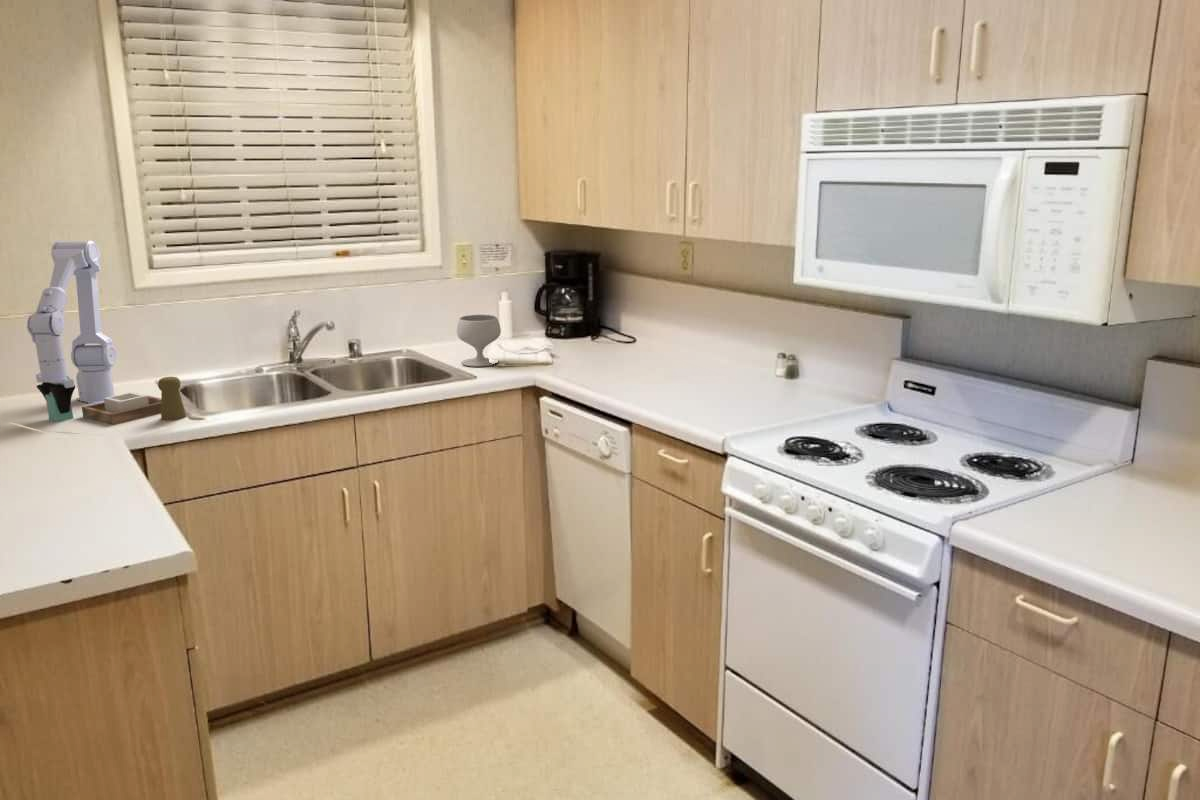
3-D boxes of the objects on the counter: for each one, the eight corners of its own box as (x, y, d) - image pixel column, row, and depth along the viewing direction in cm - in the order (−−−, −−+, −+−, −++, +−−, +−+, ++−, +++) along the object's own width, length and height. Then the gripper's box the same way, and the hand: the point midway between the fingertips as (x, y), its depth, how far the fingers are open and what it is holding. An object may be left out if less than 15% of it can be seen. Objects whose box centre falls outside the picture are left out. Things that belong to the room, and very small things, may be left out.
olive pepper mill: (191, 415, 240) (186, 374, 238) (178, 422, 235) (173, 380, 232) (169, 415, 241) (163, 374, 238) (156, 421, 235) (150, 380, 232)
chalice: (452, 361, 301) (450, 316, 297) (492, 357, 307) (490, 312, 303) (467, 370, 289) (465, 322, 285) (508, 365, 295) (507, 318, 291)
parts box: (83, 418, 239) (81, 407, 238) (141, 404, 252) (140, 393, 251) (113, 426, 232) (111, 414, 231) (172, 411, 245) (170, 400, 244)
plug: (49, 421, 237) (44, 392, 235) (65, 417, 240) (60, 389, 238) (57, 423, 235) (52, 394, 233) (73, 419, 238) (68, 391, 236)
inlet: (106, 414, 241) (103, 398, 240) (133, 408, 247) (131, 392, 246) (122, 418, 237) (119, 401, 236) (149, 412, 243) (147, 395, 242)
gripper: (20, 359, 234) (29, 411, 237) (50, 365, 226) (59, 419, 230) (48, 354, 240) (57, 404, 243) (79, 360, 232) (87, 412, 236)
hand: (60, 411), depth 237 cm, fingers closed on plug, 4 cm apart
